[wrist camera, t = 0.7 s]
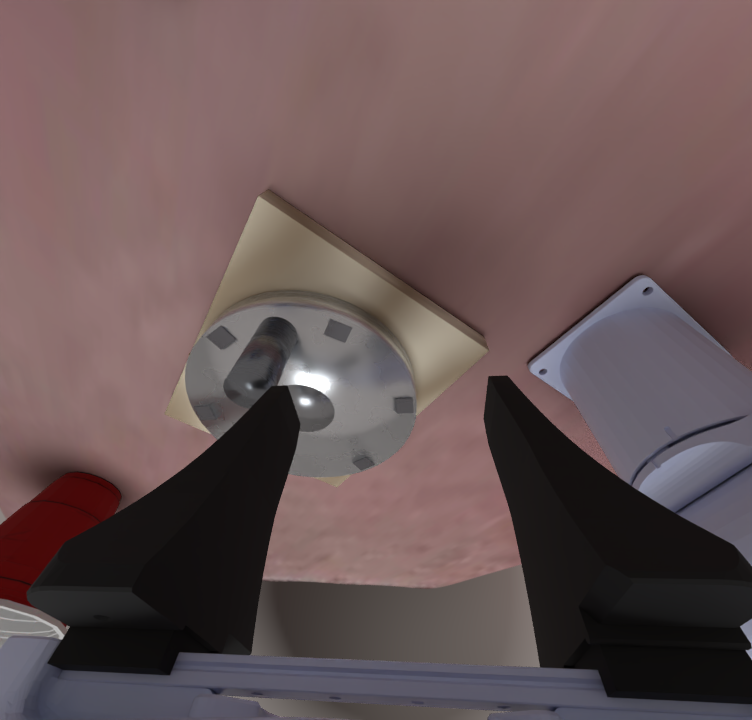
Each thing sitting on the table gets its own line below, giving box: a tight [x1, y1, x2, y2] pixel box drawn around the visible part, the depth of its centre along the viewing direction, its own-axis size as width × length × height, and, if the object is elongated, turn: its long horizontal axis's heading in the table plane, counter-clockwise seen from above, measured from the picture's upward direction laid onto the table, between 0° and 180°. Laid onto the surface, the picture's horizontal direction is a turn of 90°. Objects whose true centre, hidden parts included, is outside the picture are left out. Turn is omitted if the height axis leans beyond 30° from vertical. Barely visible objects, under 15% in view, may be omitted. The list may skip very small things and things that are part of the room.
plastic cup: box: [0, 472, 121, 648], centre depth 30 cm, size 11×11×12 cm
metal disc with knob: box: [185, 290, 417, 477], centre depth 20 cm, size 14×14×6 cm
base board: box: [165, 190, 489, 487], centre depth 23 cm, size 15×18×2 cm
